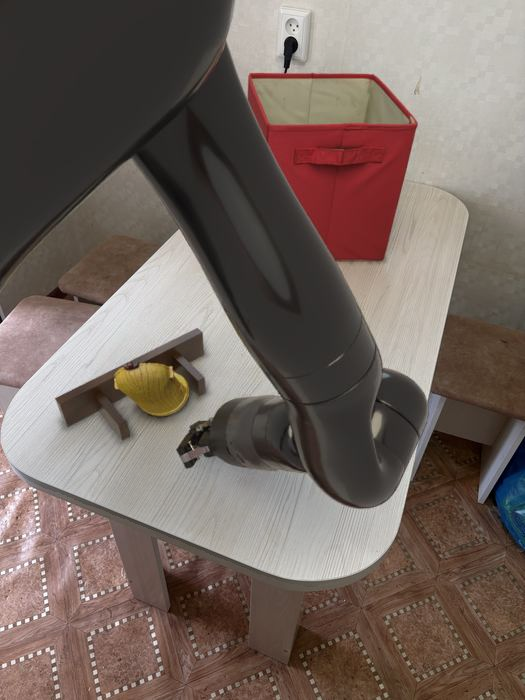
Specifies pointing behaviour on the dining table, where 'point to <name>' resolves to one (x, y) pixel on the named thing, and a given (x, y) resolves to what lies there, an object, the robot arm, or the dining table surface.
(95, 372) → the dining table surface
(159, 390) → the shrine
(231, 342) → the dining table surface
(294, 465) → the robot arm
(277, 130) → the storage cube
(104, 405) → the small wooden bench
